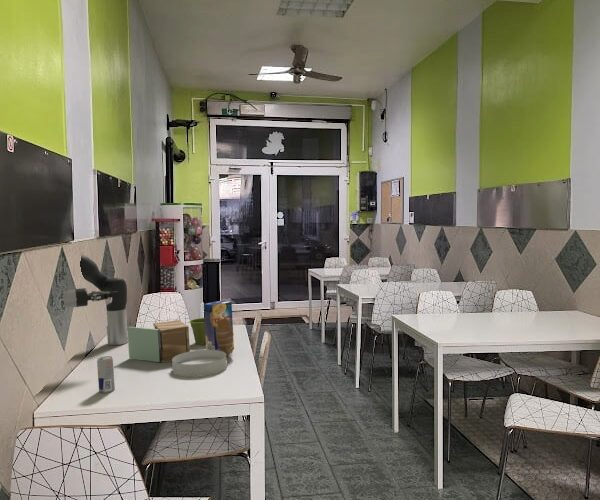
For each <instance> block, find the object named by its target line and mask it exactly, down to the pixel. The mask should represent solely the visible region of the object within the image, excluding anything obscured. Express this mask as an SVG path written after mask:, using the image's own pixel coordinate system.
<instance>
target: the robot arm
mask: <svg viewBox="0 0 600 500" xmlns="http://www.w3.org/2000/svg"><path fill="white" fill-rule="evenodd" d="M81 254H82V255H81V261H80V267H81V272H82V275H83V277H84V278H83V279H84V280H86V281H87V282H89V283H90V284H92V285H94V287H96V288H97V289H98V290H99V291H96V290H94V291H93V290H92V291H91V292H89V293H88V290H87V288H85V287H84V288H72V289H71V288H70V289H65V290H66V291H65V290H64V291H65V294H64V305H65V307H66V308H65V309H68V308H69V309H70V308H71V309H72V308H80V307H87V306H88V305H89V303H88V302H89V301H92V303H93V302H100V301H103V300H108V299H110V298H111V302H108V303H107V304H106V318H107V319H106V322H107V323H106V324H107V326H106V334H107V335H106V336H107V337H106V338H107V346H120V345H125V344H127V343H128V330H127V327H128V320H127V303H128V288H127V287H128V286H127V285H128V284H127V282H126V281H125V279H123V278H120V277H110V276H107V275H106V274H104V273H102V272H101V271H100V269H99V267H98V265H97V263H96V262H95V261H94V260H92V259H91V258H89V256H86V255H85V254H83V253H81Z"/></svg>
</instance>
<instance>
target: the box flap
mask: <svg viewBox="0 0 600 500" xmlns="http://www.w3.org/2000/svg"><path fill="white" fill-rule="evenodd" d="M127 333H128V342H127V343H128V359H133V360H134V359H135V360H141V361H147V362H156V363H157V362H158V363H163V362H162V353H161V336H160V329H155V328H147V327H136V326H127Z"/></svg>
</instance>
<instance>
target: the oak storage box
mask: <svg viewBox="0 0 600 500" xmlns="http://www.w3.org/2000/svg"><path fill="white" fill-rule="evenodd" d="M152 326H153V327H154V329H160V336H161V353H162V362H161V363H167V362H172V359H173V357H175V356H177V355H179V354H182V353H186V352H190V351H191V350H190V347H191V346H190V333H189V332H190V331H189V330H190V329H189V327H190V326H188V325H187V324H186V323H184V322H183V321H182V320H181V319H176V320H169V321H168V320H167V321H162V322H161V321H160V322H153V325H152Z"/></svg>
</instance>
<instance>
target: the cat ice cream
mask: <svg viewBox="0 0 600 500" xmlns="http://www.w3.org/2000/svg"><path fill="white" fill-rule="evenodd" d="M216 338H217V343H218V347H219V349H220V351H222V352H225V353H226V357H228V356H229V355H230V353H231V350H232V349H231V348H232V343H233V340H234V326H233V327H232V326H231V323H230V320H229V319H228V318H226V317H225V316H224V315H223V316H222V318H220V319H219V320H218V322H217V327H216Z"/></svg>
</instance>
